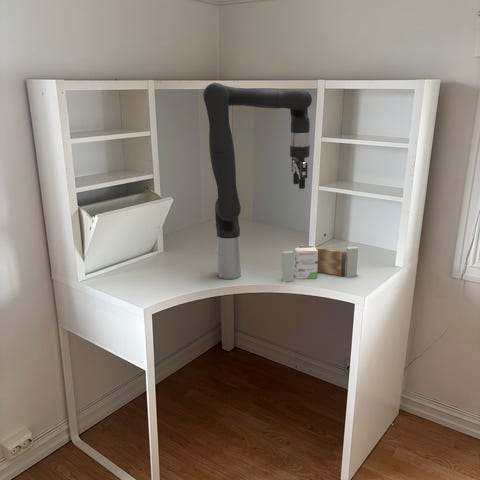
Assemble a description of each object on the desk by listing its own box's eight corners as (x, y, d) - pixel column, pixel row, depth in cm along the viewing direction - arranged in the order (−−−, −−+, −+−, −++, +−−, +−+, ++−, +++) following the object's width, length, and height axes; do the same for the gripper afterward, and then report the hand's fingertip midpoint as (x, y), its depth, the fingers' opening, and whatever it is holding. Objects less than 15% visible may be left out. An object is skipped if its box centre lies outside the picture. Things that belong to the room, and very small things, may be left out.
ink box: (314, 273, 201) (315, 246, 198) (317, 278, 197) (318, 250, 193) (294, 274, 201) (294, 247, 197) (296, 279, 196) (296, 251, 193)
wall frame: (283, 281, 194) (283, 253, 190) (282, 279, 196) (282, 251, 192) (356, 276, 198) (358, 248, 194) (354, 274, 200) (356, 246, 196)
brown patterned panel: (299, 268, 206) (299, 245, 203) (301, 266, 208) (302, 244, 205) (344, 276, 197) (345, 253, 194) (346, 274, 199) (347, 251, 196)
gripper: (285, 142, 193) (285, 183, 198) (295, 147, 180) (294, 190, 185) (304, 141, 194) (303, 182, 199) (314, 146, 181) (313, 189, 186)
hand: (298, 186), depth 192 cm, fingers open, 8 cm apart
